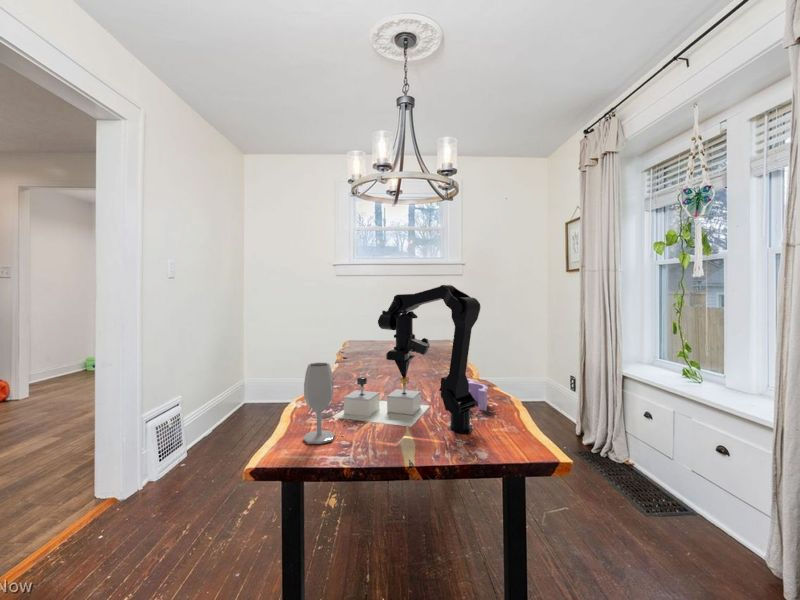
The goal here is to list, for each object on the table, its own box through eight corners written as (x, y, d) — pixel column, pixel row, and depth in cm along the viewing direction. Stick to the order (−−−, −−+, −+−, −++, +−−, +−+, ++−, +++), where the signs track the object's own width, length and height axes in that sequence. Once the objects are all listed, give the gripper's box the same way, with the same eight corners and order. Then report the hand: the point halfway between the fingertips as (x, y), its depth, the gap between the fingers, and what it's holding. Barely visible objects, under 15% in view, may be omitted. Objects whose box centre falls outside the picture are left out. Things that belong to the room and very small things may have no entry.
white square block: (368, 417, 123) (368, 399, 123) (343, 414, 126) (343, 397, 126) (381, 407, 133) (380, 391, 133) (357, 405, 136) (357, 389, 136)
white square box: (412, 415, 125) (412, 398, 124) (387, 413, 128) (387, 395, 127) (421, 406, 134) (421, 390, 134) (397, 404, 137) (397, 388, 137)
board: (411, 428, 115) (411, 426, 115) (331, 418, 124) (331, 416, 124) (430, 407, 136) (430, 405, 136) (360, 400, 145) (360, 398, 145)
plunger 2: (411, 401, 126) (411, 380, 125) (390, 399, 128) (390, 378, 128) (417, 396, 132) (417, 375, 132) (397, 394, 135) (397, 374, 135)
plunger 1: (367, 403, 124) (367, 381, 124) (347, 401, 127) (347, 379, 126) (376, 397, 131) (375, 376, 131) (357, 395, 133) (356, 375, 133)
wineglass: (303, 446, 102) (302, 368, 101) (302, 434, 110) (302, 362, 110) (336, 443, 104) (336, 366, 103) (333, 431, 112) (333, 360, 112)
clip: (444, 396, 150) (444, 378, 150) (475, 395, 152) (475, 377, 152) (458, 412, 131) (458, 392, 130) (493, 411, 132) (493, 391, 132)
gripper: (419, 335, 118) (419, 385, 119) (434, 329, 136) (434, 373, 136) (385, 334, 122) (385, 382, 122) (404, 328, 139) (404, 370, 140)
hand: (404, 377), depth 130 cm, fingers closed
